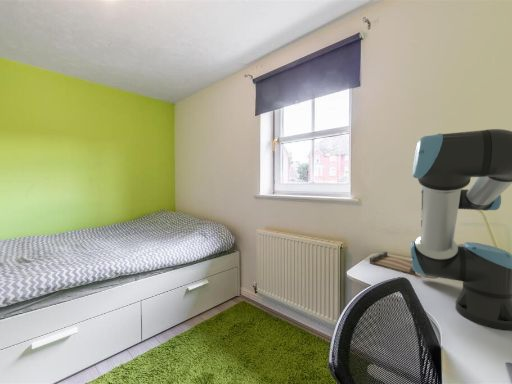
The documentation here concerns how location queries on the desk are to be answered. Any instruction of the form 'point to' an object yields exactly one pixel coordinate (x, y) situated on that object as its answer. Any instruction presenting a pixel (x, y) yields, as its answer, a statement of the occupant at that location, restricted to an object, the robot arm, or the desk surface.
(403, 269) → the rail board
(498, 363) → the desk surface
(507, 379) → the desk surface
